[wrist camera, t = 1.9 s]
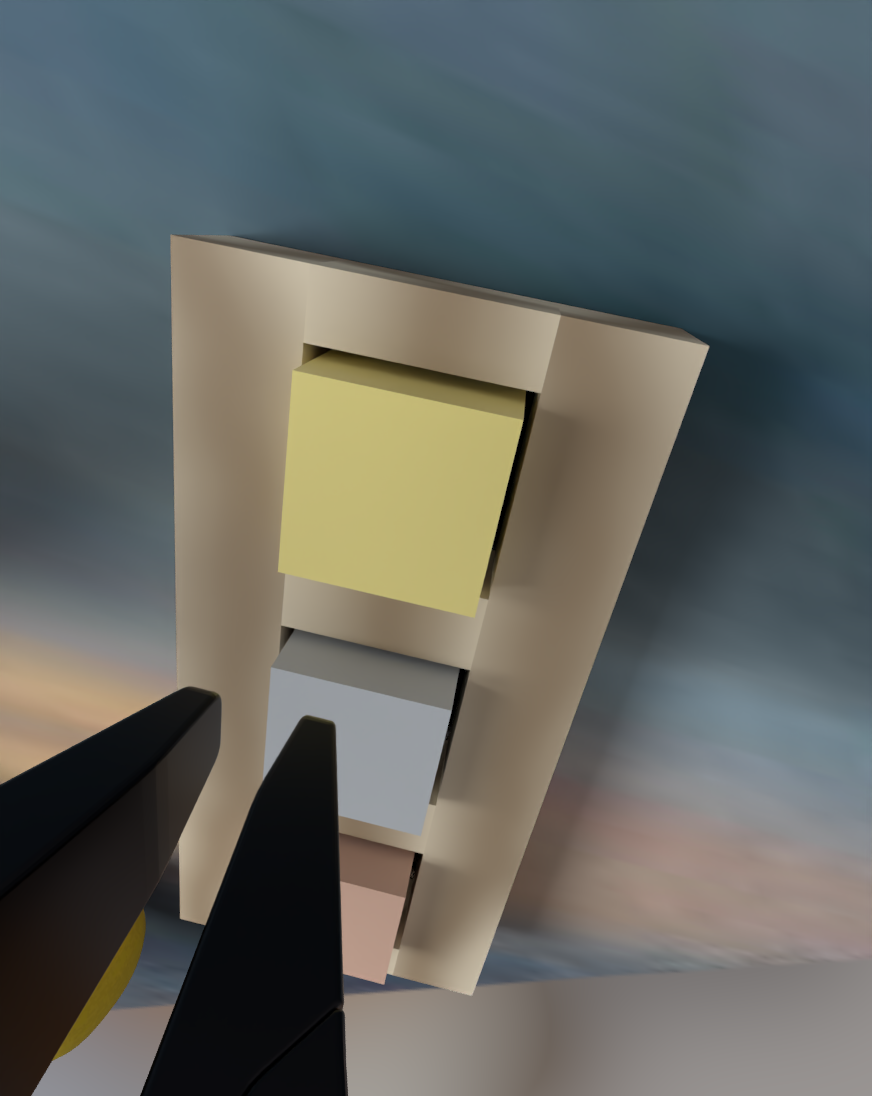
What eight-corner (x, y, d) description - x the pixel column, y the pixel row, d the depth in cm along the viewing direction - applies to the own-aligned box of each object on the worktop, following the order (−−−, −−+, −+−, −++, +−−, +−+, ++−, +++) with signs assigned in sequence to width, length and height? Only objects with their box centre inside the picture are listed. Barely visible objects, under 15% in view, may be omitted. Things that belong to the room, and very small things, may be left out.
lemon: (152, 829, 28) (20, 1030, 21) (194, 912, 30) (87, 1119, 23) (46, 829, 29) (-113, 1020, 22) (94, 909, 31) (-37, 1106, 24)
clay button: (280, 875, 26) (250, 949, 23) (289, 788, 23) (257, 859, 21) (400, 906, 25) (384, 984, 23) (420, 821, 23) (405, 898, 20)
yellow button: (315, 523, 18) (277, 572, 16) (333, 348, 16) (292, 370, 13) (484, 562, 18) (474, 617, 15) (526, 389, 16) (523, 420, 13)
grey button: (295, 728, 22) (261, 796, 19) (307, 609, 20) (271, 667, 17) (435, 763, 22) (420, 836, 19) (463, 646, 19) (451, 710, 17)
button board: (214, 853, 28) (180, 918, 25) (229, 235, 17) (170, 234, 14) (478, 922, 27) (471, 996, 25) (681, 328, 16) (709, 346, 13)
